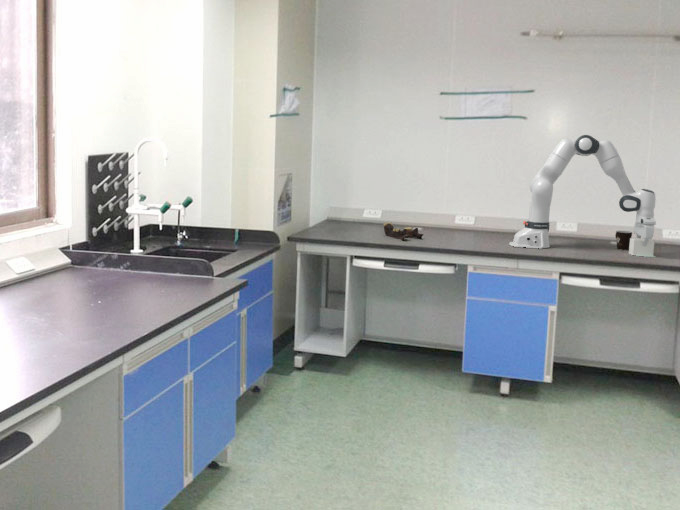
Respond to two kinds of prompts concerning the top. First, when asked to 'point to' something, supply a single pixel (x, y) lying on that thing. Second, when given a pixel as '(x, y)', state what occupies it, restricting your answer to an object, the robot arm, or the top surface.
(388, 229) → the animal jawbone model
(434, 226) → the top surface
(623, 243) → the coffee mug
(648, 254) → the white rectangular block
